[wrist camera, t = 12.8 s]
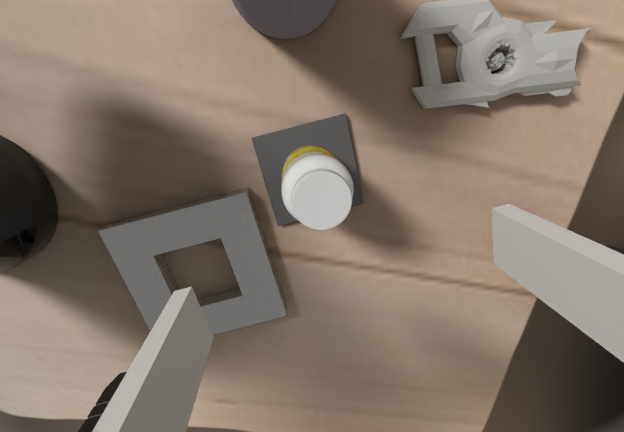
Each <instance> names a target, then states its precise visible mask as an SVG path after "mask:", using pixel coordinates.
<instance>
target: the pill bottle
mask: <svg viewBox="0 0 624 432" xmlns="http://www.w3.org/2000/svg"><path fill="white" fill-rule="evenodd" d="M281 191H282V198H283V202H284V205H285V207H286V209H287V210H288V212H289V213H290V214H291V215H292V216H293V217H294V218H296V219H297V220H298V221H300V222H301V223H302V224H303V225H305V226H307V227H309V228H311V229H315V230H327V229H331V228H333V227H336V226H337V225H339V224H340V223H341V222H343V221H344V220H345V218H346V217H347V215H348V214H349V212H350V209H351V206H352V198H353V192H354V187H353V181H352V178H351V175H350V173H349V171H348V170H347V168H346V167H345V166H344V165H343V164H342V163H341V162H340V161H339V160H338V159H337V158H336V157H335V156H334V155H333V154H332V153H331V152H329V151H328V150H326V149H325V148H322V147H320V146H315V145H308V146H303V147H300V148H298V149H296V150H295V151H293V152H292V153H291V154H290V155H289V156H288V158H287V159H286V161H285V163H284V166H283V170H282V190H281Z"/></svg>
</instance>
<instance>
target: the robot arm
mask: <svg viewBox="0 0 624 432" xmlns="http://www.w3.org/2000/svg"><path fill="white" fill-rule="evenodd" d="M56 224H57V204H56V200H55V196H54V193H53V190H52V188H51V186H50V184H49V182H48V180H47V178H46V176H45V175H44V173H43V172H42V171H41V169H40V168H39V167H38V165H37V164H36V163H35V162H34V161H33V160H32V159H31V158H30V157H29V156H28V155H27V154H26V153H25V152H24V151H22V150H21V149H20V148H19V147H17V146H16V145H14V144H13V143H11V142H10V141H8V140H7V139H5V138H3V137H1V136H0V272H1V271H4V270H7V269H10V268H12V267H15V266H17V265H19V264H21V263H22V262H24V261H26V260H27V259H29V258H31V257H32V256H34V255H36V254H37V253H38V252H40V251H41V250H42V249H43V248H44V247H45V246H46V245H47V244H48V242H49V241H50V239H51V238H52V236H53V234H54V231H55V228H56ZM492 230H493V251H494V265H496V266H497V267H498V268H500V269H501V270H502V271H504V272H505V273H506V274H508V275H509V276H510V277H511V278H513V279H514V280H515V281H517V282H518V283H519V284H521V285H522V286H523V287H525V288H526V289H527V290H529V291H530V292H531V293H533V294H534V295H535V296H537V297H538V298H539V299H541V300H542V301H543V302H544V303H546V304H547V305H548V306H550V307H551V308H552V309H554V310H555V311H556V312H558V313H559V314H560V315H562V316H563V317H564V318H566V319H567V320H568V321H569V322H571V323H572V324H574V325H575V326H576V327H577V328H579V329H580V330H581V331H583V332H584V333H585V334H587V335H588V336H589V337H591V338H592V339H593V340H595V341H596V342H597V343H599V344H600V345H601V346H603V347H604V348H605V349H606V350H608V351H609V352H611V353H612V354H613V355H614V356H616V357H617V358H618V359H620V360H621V361H622V362H624V249H621V248H617V247H612V246H603V245H601V244H599V243H596V242H594V241H592V240H589V239H587V238H585V237H583V236H580V235H578V234H576V233H574V232H571V231H569V230H567V229H565V228H562V227H560V226H558V225H556V224H553V223H551V222H549V221H546V220H544V219H542V218H540V217H537V216H535V215H533V214H531V213H528V212H526V211H524V210H522V209H519V208H517V207H515V206H512V205H510V204H507V205H503V206H499V207H495V208H492ZM213 339H214V336H213V334H212V332H211V329H210V327H209V325H208V323H207V320H206V318H205V316H204V314H203V311H202V309H201V307H200V304H199V302H198V300H197V298H196V295H195V293H194V291H193V289H192V287H188V288H184V289H180V290H176V291H174V292H173V294H172V296H171V297H170V299H169V301H168V302H167V304H166V306H165V308H164V309H163V311H162V313H161V314H160V316H159V318H158V320H157V321H156V323H155V325H154V326H153V328H152V330H151V332H150V333H149V335H148V337H147V338H146V340H145V342H144V344H143V345H142V347H141V349H140V350H139V352H138V354H137V356H136V357H135V359H134V361H133V362H132V364H131V366H130V368H129V369H128V371H127V372H124V373H120V374H119V375H118V376H117V377H116V378H115V379H114V380H113V381H112V382H111V383H110V384H109V385H108V386H107V387H106V388H105V390H104V391H103V393H102V395H101V396H100V398H99V399H98V401H97V403H96V406H94V407H93V409H92V411H91V412H90V414H89V415H88V419H87V420H85V422H84V423H83V425H82V427H81V428H80V430H79V431H78V432H186V429H187V426H188V423H189V419H190V416H191V413H192V409H193V406H194V402H195V399H196V396H197V392H198V389H199V386H200V382H201V379H202V376H203V372H204V369H205V365H206V362H207V359H208V355H209V352H210V349H211V345H212V342H213Z"/></svg>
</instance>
